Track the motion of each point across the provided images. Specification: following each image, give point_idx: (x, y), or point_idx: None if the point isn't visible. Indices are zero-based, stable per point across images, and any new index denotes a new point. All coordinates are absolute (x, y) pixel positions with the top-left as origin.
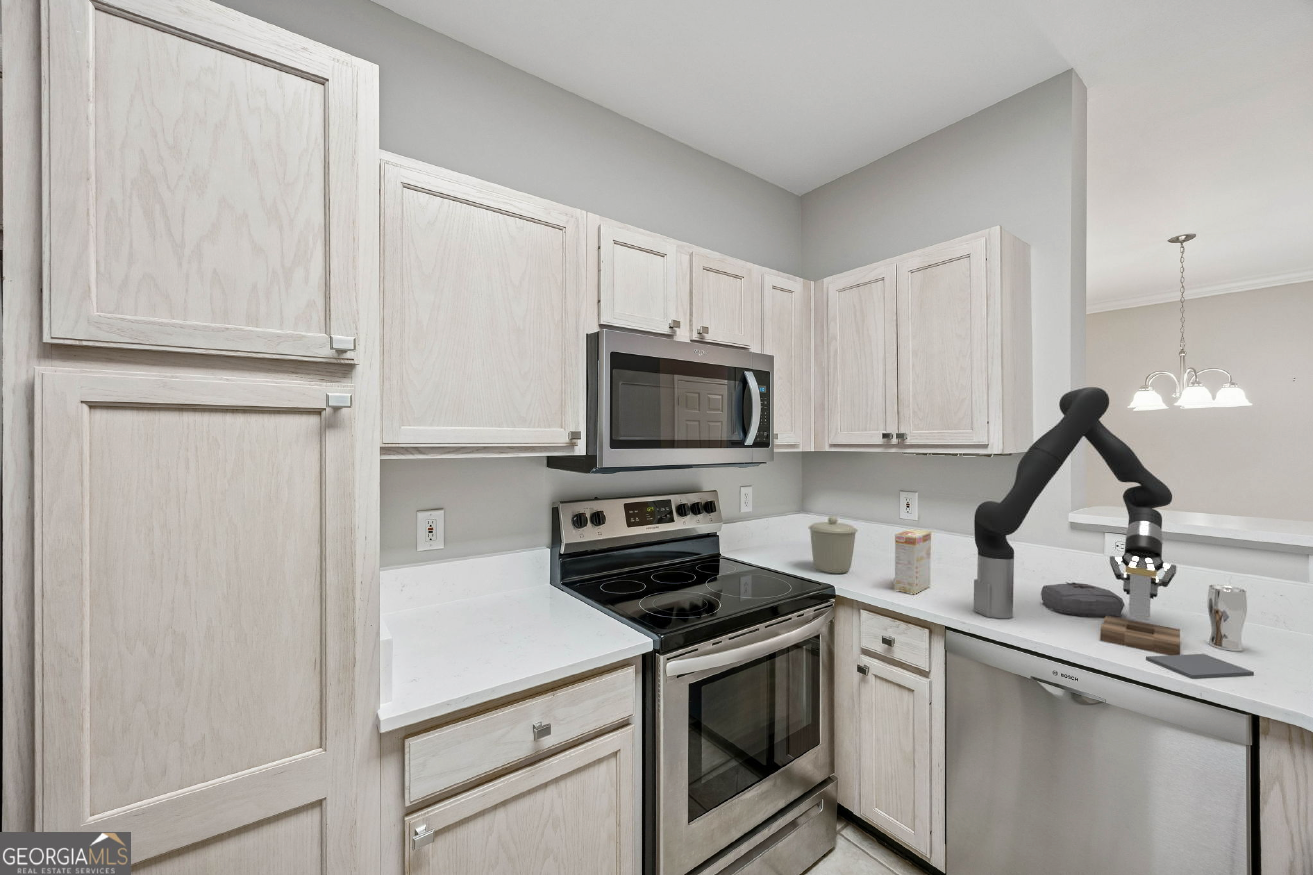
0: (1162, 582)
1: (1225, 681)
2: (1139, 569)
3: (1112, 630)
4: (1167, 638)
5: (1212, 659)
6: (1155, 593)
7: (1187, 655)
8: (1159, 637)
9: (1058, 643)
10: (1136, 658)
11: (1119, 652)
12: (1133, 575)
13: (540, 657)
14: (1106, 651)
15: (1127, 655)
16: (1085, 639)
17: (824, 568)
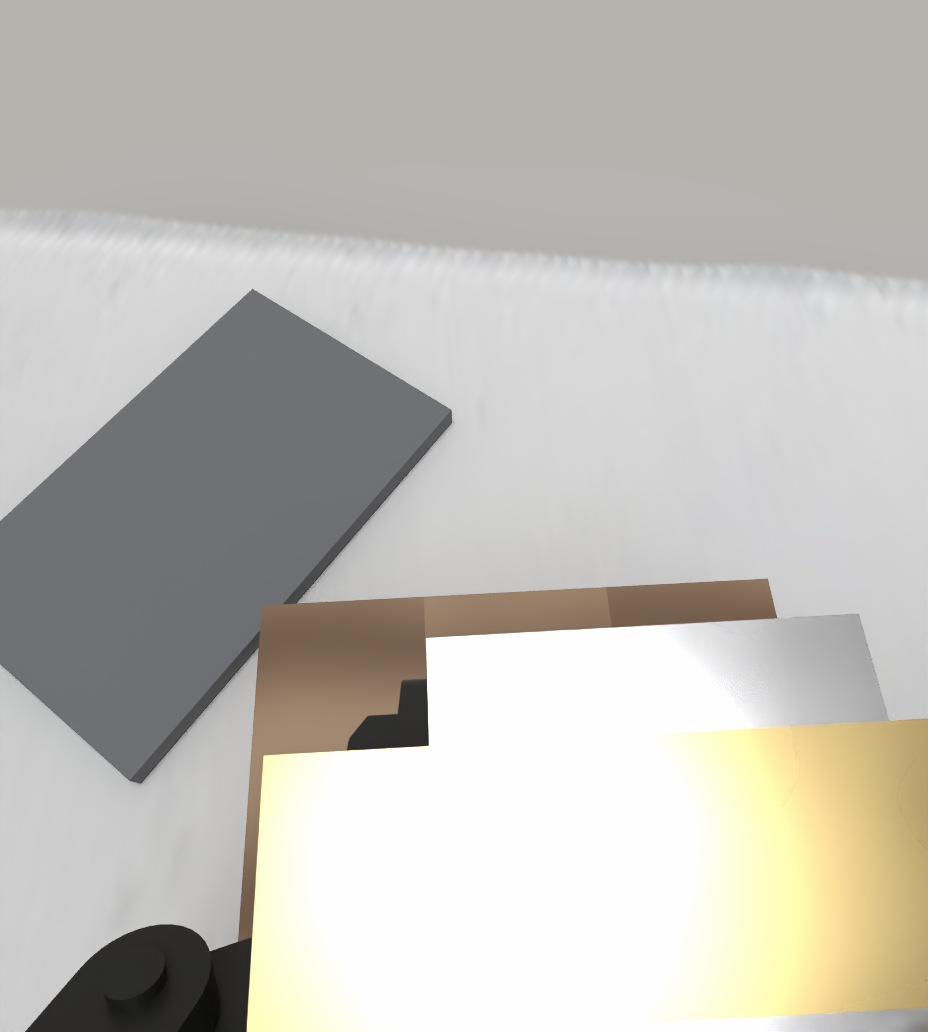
0: (214, 967)
1: (117, 379)
2: (745, 740)
3: (693, 610)
4: (335, 724)
5: (101, 673)
6: (377, 726)
7: (238, 634)
8: (388, 705)
9: (871, 347)
10: (495, 409)
11: (585, 445)
12: (781, 628)
13: None
14: (642, 407)
15: (541, 424)
16: (807, 554)
17: None
